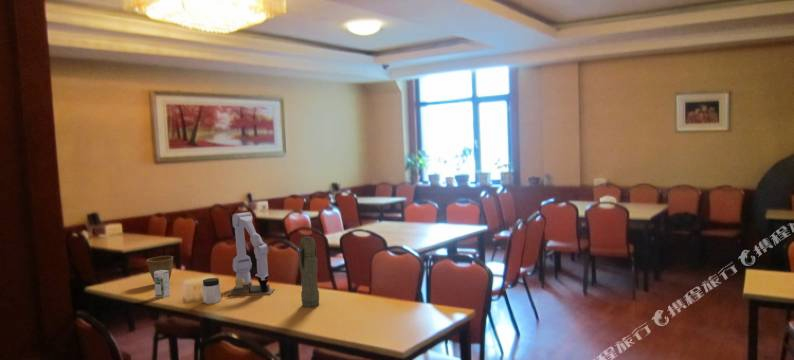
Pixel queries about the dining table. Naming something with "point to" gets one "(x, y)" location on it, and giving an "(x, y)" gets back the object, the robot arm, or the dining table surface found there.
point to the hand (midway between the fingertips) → (263, 290)
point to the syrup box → (162, 283)
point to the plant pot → (160, 264)
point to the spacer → (239, 282)
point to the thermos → (308, 271)
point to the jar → (211, 291)
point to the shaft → (253, 288)
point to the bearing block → (246, 291)
